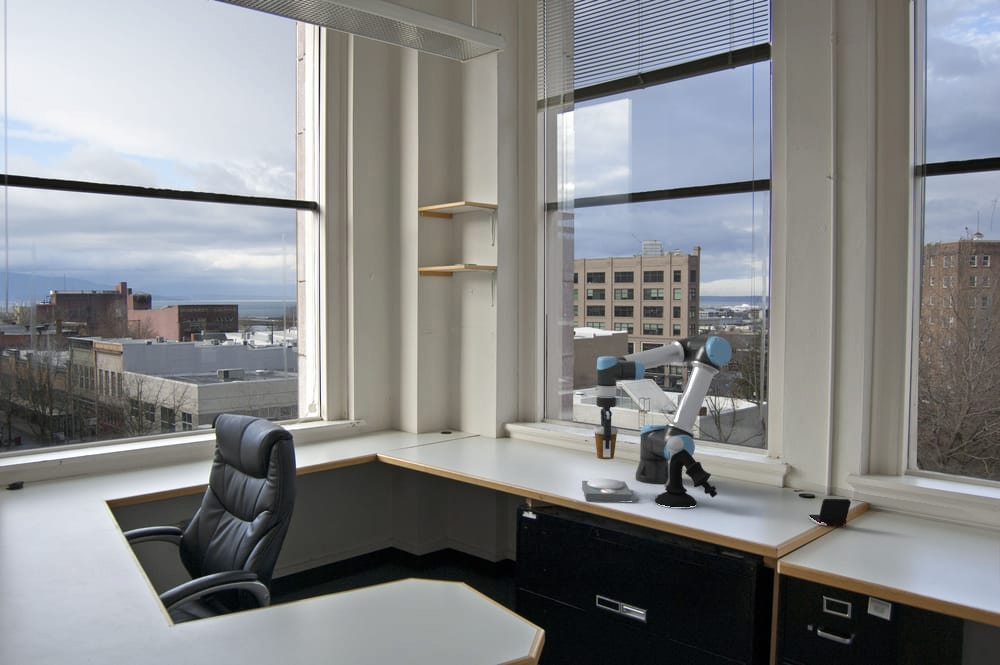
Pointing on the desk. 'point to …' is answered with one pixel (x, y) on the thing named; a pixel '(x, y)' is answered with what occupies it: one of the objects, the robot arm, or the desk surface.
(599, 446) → the disposable coffee cup
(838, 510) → the handheld gaming console
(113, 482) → the desk surface
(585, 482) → the dial scale
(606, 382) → the robot arm
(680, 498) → the sculpture
